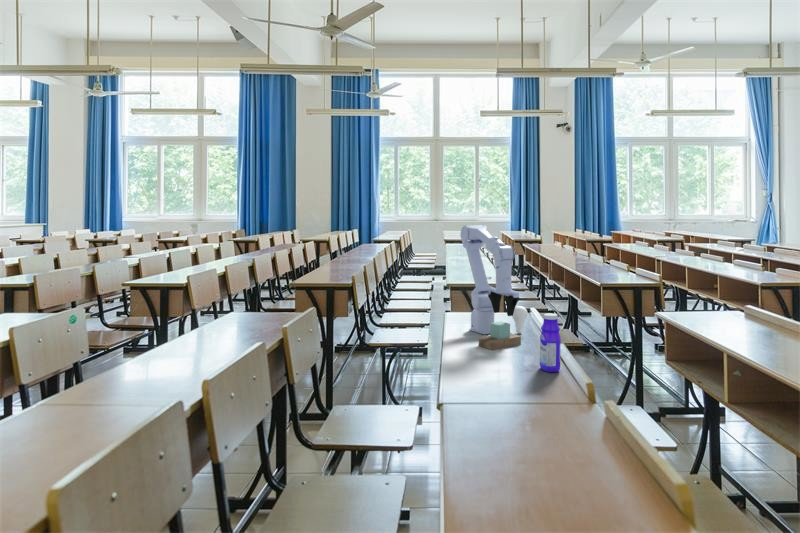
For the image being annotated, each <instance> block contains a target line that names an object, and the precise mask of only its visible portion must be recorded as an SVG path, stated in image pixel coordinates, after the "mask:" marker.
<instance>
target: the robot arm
mask: <svg viewBox="0 0 800 533" xmlns="http://www.w3.org/2000/svg"><path fill="white" fill-rule="evenodd" d="M459 236H460V240H461V243H462V247H463V248H464V249H465V251H466V254H467V258H468V262H469V265H470V269H471V274H472V277H473V281H474V285H475V287H474V289H473V290H472V291H471V293H470V296H471V306H472V308H473V310H472V311H471V314H470V328H469V329H468V330H469V331H471V332H474V333H478V334H482V335H490V323H494V322H495V313H500V309H501V300H502V297H503V296H506V297H504V301H505V304H506V314H507V316H508V317H512V316H513V313H514V309H515V307H517V306H516V305H517V304H518V303H519V300H520V292H519V291H517V290H513V289H512V266H513V265H512V261H513V260H514V259H515V256H516V253H515V252H516V251H515V248H514V246H513V245H509V244H508V245H507V244H505V243H504V242H503V241H502V240H501V239H499V237H498V236H492V235H491V234H490V233H489V230H488V227H487V226H486V225H485V224H479V225H478V224H477V225H473V224H472V225H467V224H466V225H465V224H464V225H463V226H462V227H461V229H460V234H459ZM484 245H485V247H486V249H487V250H488V251H489V252H490V253H491V254H492V258H493V260H494V267H495V287H493V286H492V285H489V282H488V279H487V275H486V271H485V267H484V264H483V259H482V256H481V253H480V252H481V251H480V249H481V248H483V247H484Z"/></svg>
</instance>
